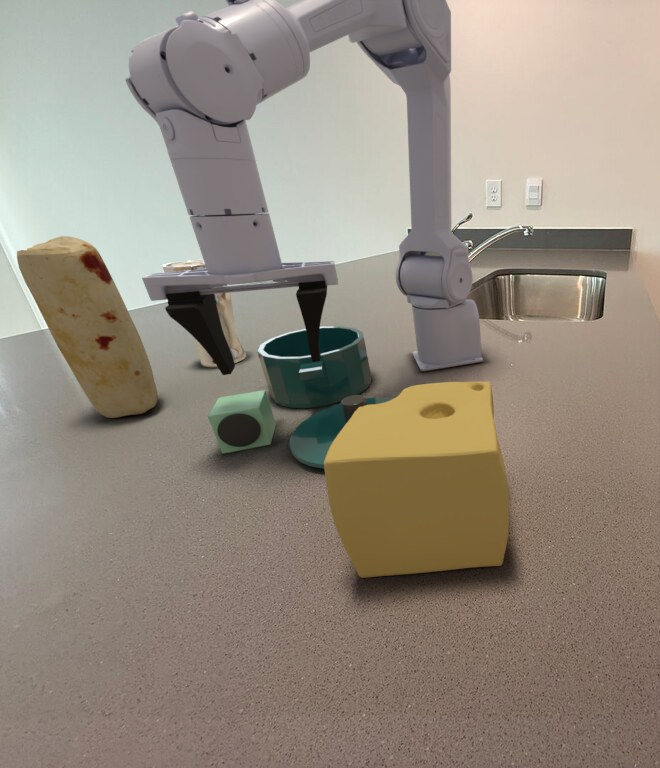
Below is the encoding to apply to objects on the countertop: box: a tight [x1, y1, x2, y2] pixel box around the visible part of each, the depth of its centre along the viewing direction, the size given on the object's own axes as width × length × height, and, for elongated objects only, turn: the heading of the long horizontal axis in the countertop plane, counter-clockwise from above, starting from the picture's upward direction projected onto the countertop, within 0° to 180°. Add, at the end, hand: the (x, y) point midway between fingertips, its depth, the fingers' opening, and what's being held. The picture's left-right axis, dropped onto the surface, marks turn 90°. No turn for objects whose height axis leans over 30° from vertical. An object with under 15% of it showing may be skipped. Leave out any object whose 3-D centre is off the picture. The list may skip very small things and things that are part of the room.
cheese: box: [323, 381, 510, 579], centre depth 30 cm, size 10×11×10 cm
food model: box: [16, 235, 159, 419], centre depth 46 cm, size 10×7×20 cm
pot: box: [256, 325, 372, 409], centre depth 54 cm, size 12×18×6 cm
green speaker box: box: [207, 389, 277, 455], centre depth 42 cm, size 5×4×4 cm
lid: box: [288, 394, 394, 469], centre depth 43 cm, size 13×13×4 cm
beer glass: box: [162, 259, 247, 368], centre depth 61 cm, size 7×7×15 cm
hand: (274, 364), depth 40 cm, fingers open, 7 cm apart
